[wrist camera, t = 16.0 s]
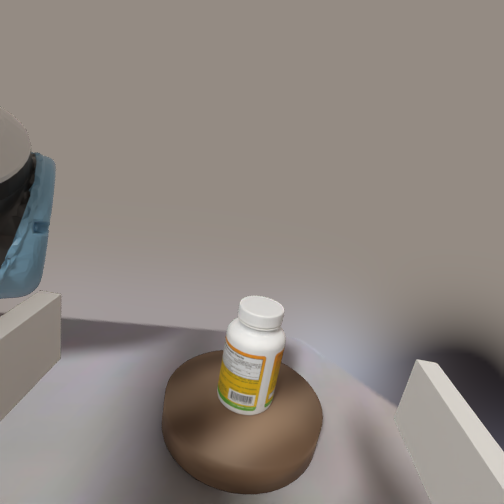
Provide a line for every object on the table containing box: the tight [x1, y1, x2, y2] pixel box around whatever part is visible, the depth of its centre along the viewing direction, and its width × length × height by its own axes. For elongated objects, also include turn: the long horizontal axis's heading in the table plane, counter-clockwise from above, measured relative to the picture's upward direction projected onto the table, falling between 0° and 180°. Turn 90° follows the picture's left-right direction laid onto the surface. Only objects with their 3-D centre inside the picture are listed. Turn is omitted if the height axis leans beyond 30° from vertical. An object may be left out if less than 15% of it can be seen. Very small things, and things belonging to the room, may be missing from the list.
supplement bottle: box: [217, 296, 286, 415], centre depth 32 cm, size 5×5×10 cm
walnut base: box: [162, 350, 323, 494], centre depth 34 cm, size 15×15×3 cm
